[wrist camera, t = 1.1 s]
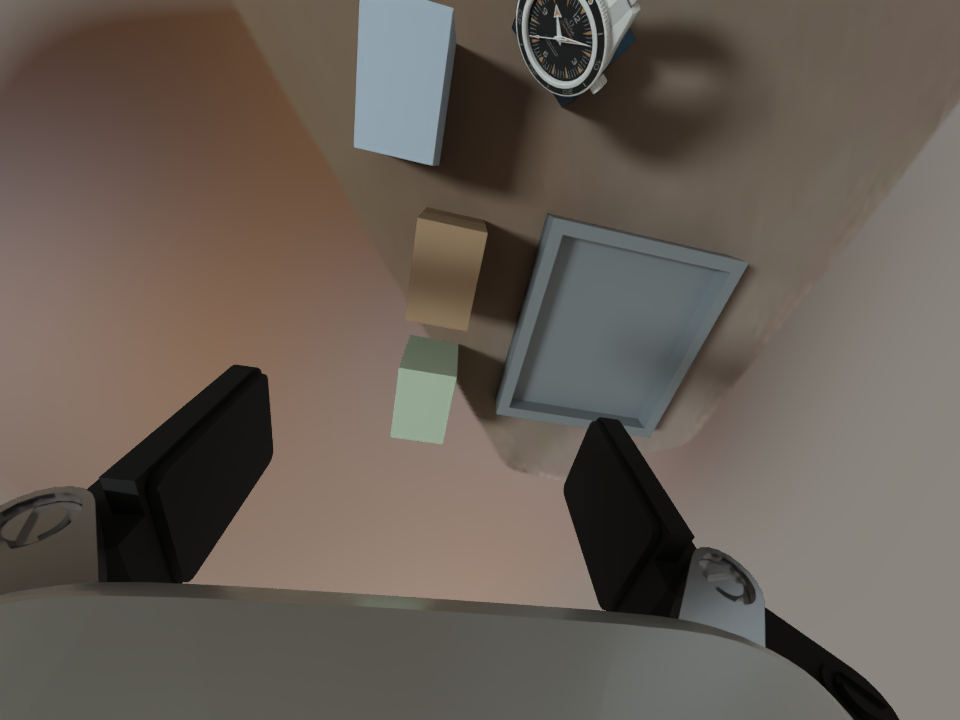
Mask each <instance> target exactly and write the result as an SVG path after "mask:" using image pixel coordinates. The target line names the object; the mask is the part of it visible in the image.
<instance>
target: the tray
mask: <svg viewBox="0 0 960 720" xmlns="http://www.w3.org/2000/svg"><path fill="white" fill-rule="evenodd" d="M748 264H749V263H748V262H746V261H743V260H740V259H737V258H734V257H731V256H728V255H724V254H720V253H715V252H711V251H707V250H702V249H698V248H694V247H689V246H685V245H681V244H677V243H672V242H668V241H664V240H659V239H655V238H651V237H646V236H642V235H638V234H633V233H629V232H625V231H620V230H616V229H612V228H608V227H603V226H599V225H595V224H590V223H586V222H582V221H577V220H573V219H569V218H564V217H560V216H556V215H552V214H547V217H546V220H545V224H544V227H543V231H542V234H541V238H540V242H539V245H538V249H537V252H536V256H535V259H534V263H533V266H532V270H531V273H530V277H529V280H528V284H527V287H526V291H525V295H524V298H523V302H522V305H521V309H520V312H519V316H518V319H517V323H516V326H515V330H514V333H513V337H512V340H511V344H510V348H509V351H508V355H507V358H506V362H505V365H504V369H503V372H502V376H501V379H500V383H499V386H498V390H497V393H496V397H495V406H496V414H498V415H504V416H511V417H517V418H524V419H530V420H537V421H543V422H550V423H556V424H563V425H569V426H576V427H583V428H588V427H589V425H590V423H591V422H592V421H596V420H597V419H598V418H599V417H604V418H611V419H617V420H619V421H620V422H621V423H622V425H623V426H624V428H625V429H626V431H627V433H628V434H629V435H635V436H641V437H648V438H650V436H651V434H652V433H653V431H654V429H655V427H656V426H657V424H658V422H659V420H660V419H661V417H662V415H663V413H664V412H665V410H666V408H667V406H668V405H669V403H670V401H671V399H672V397H673V396H674V394H675V392H676V390H677V389H678V387H679V385H680V383H681V382H682V380H683V378H684V376H685V375H686V373H687V371H688V369H689V368H690V366H691V364H692V362H693V360H694V359H695V357H696V355H697V353H698V352H699V350H700V348H701V346H702V345H703V343H704V341H705V339H706V338H707V336H708V334H709V332H710V331H711V329H712V327H713V325H714V323H715V322H716V320H717V318H718V316H719V315H720V313H721V311H722V309H723V308H724V306H725V304H726V302H727V301H728V299H729V297H730V295H731V294H732V292H733V290H734V288H735V286H736V285H737V283H738V281H739V279H740V278H741V276H742V274H743V272H744V271H745V269H746V267H747V265H748Z"/></svg>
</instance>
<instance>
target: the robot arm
mask: <svg viewBox="0 0 960 720" xmlns="http://www.w3.org/2000/svg"><path fill="white" fill-rule="evenodd" d="M272 455H273V440H272V427H271V415H270V402H269V388H268V378H267V375H265V374H262V373H261V370H260V369H259V368H256V367H248V366H242V365H233V366H231V367H230V368H229V369H228V370H226V371H225V372H224V373H223V374H222V375H221V376H219V377H218V378H217V379H216V380H215V381H213V382H212V383H211V384H210V385H209V386H207V387H206V388H205V389H204V390H203V391H201V392H200V393H199V394H198V395H197V396H195V397H194V398H193V399H192V400H191V401H189V402H188V403H187V404H186V405H185V406H183V407H182V408H181V409H180V410H179V411H178V412H176V413H175V414H174V415H173V416H172V417H171V418H169V419H168V420H167V421H166V422H164V423H163V424H162V425H161V426H160V427H159V428H157V429H156V430H155V431H154V432H152V433H151V434H150V435H149V436H148V437H147V438H145V439H144V440H143V441H142V442H141V443H139V444H138V445H137V446H136V447H135V448H133V449H132V450H131V451H130V452H129V453H128V454H126V455H125V456H124V457H123V458H121V459H120V460H119V461H118V462H117V463H116V464H114V465H113V466H112V467H111V468H110V469H108V470H107V471H106V472H105V473H104V474H102V475H101V476H100V477H99V479H98V480H97V481H96V482H95V483H94V484H93V485H91V486H90V487H89V488H88V489H87V490H86V489H84V488H80V487H74V486H65V487H53V488H48V489H43V490H38V491H35V492H32V493H29V494H26V495H23V496H20V497H17V498H15V499H13V500H11V501H9V502H7V503H4V504H2V505H0V720H899V718H898V717H897V715H896V713H895V712H894V710H893V709H892V707H891V706H890V705H889V704H888V702H887V701H886V700H885V699H884V697H883V696H882V695H881V694H880V693H879V692H878V691H877V690H876V689H875V688H874V687H873V686H872V685H871V684H870V683H869V682H868V681H867V680H866V679H865V678H864V677H862V676H861V675H860V674H859V673H857V672H856V671H855V670H854V669H852V668H851V667H849V666H848V665H847V664H845V663H844V662H842V661H841V660H840V659H838V658H837V657H835V656H834V655H832V654H831V653H830V652H828V651H827V650H825V649H824V648H822V647H821V646H820V645H818V644H817V643H815V642H814V641H812V640H811V639H809V638H808V637H807V636H805V635H804V634H802V633H801V632H800V631H798V630H797V629H795V628H794V627H792V626H791V625H790V624H788V623H786V622H785V621H784V620H782V619H781V618H780V617H778V616H777V615H775V614H774V613H772V612H771V611H769V610H768V609H767V608H765V601H764V597H763V592H762V590H761V588H760V587H759V585H758V583H757V581H756V580H755V579H754V577H752V575H751V574H750V572H748V570H746V569H745V568H744V567H743V566H742V565H741V564H740V563H739V562H737V561H736V560H735V559H733V558H732V557H731V556H729V555H727V554H725V553H723V552H721V551H719V550H717V549H713V548H710V547H700V548H698V549H696V547H695V545H694V544H693V543H692V540H693V538H694V535H693V534H692V532H691V531H690V529H689V528H688V526H687V524H686V523H685V521H684V520H683V518H682V517H681V515H680V514H679V512H678V510H677V509H676V507H675V506H674V504H673V503H672V501H671V499H670V498H669V496H668V495H667V493H666V492H665V490H664V489H663V487H662V486H661V484H660V482H659V481H658V479H657V478H656V476H655V475H654V473H653V472H652V470H651V468H650V467H649V465H648V464H647V462H646V461H645V459H644V457H643V456H642V454H641V453H640V451H639V450H638V448H637V447H636V445H635V443H634V442H633V440H632V439H631V437H630V436H629V434H628V433H627V431H626V429H625V428H624V426H623V425H622V423H621V422H620V421H619V420H617V419H611V418H604V417H599V418H598V419H597V420H596V421H592V422H591V423H590V425H589V427H588V430H587V432H586V434H585V437H584V439H583V442H582V444H581V446H580V449H579V451H578V453H577V456H576V458H575V460H574V463H573V465H572V467H571V470H570V472H569V475H568V477H567V479H566V482H565V484H564V496H565V500H566V503H567V506H568V509H569V512H570V515H571V518H572V521H573V524H574V528H575V531H576V534H577V537H578V540H579V543H580V546H581V550H582V553H583V556H584V559H585V562H586V565H587V568H588V571H589V575H590V578H591V580H592V584H593V587H594V590H595V593H596V596H597V600H598V603H599V605H600V607H601V608H602V609H603V610H606V611H599V610H586V609H585V610H584V609H572V608H558V607H544V606H531V605H517V604H504V603H503V604H502V603H490V602H474V601H460V600H445V599H430V598H416V597H399V596H385V595H370V594H354V593H339V592H338V593H337V592H322V591H306V590H290V589H273V588H256V587H240V586H221V585H197V584H182V583H183V582H189V581H190V580H191V579H193V577H194V576H195V575H196V573H197V572H198V570H199V569H200V567H201V566H202V564H203V563H204V561H205V560H206V558H207V557H208V555H209V554H210V552H211V551H212V549H213V548H214V546H215V545H216V543H217V541H218V540H219V539H220V537H221V536H222V534H223V533H224V531H225V530H226V528H227V526H228V525H229V523H230V522H231V521H232V519H233V517H234V516H235V514H236V513H237V512H238V510H239V508H240V507H241V506H242V504H243V502H244V501H245V499H246V498H247V496H248V495H249V493H250V492H251V490H252V489H253V487H254V486H255V484H256V483H257V481H258V480H259V478H260V477H261V475H262V474H263V472H264V471H265V469H266V468H267V466H268V465H269V463H270V461H271V459H272Z"/></svg>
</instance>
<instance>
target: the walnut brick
mask: <svg viewBox="0 0 960 720" xmlns="http://www.w3.org/2000/svg"><path fill="white" fill-rule="evenodd" d="M487 235H488V232H487V229H486V225H485V222H484V220H481V219H476V218H472V217H468V216H463V215H459V214H454V213H450V212H445V211H441V210H436V209H432V208H426V209H425V210H424V211H423V212H422V213H421V214H420V215H419V216H418V218H417V226H416V234H415V242H414V250H413V258H412V266H411V275H410V283H409V291H408V299H407V307H406V317H405V320H408V321H413V322H418V323H424V324H429V325H435V326H440V327H446V328H451V329H457V330H462V331H467V328H468V323H469V319H470V314H471V309H472V305H473V300H474V295H475V291H476V286H477V281H478V277H479V272H480V267H481V263H482V258H483V253H484V249H485V244H486V239H487Z"/></svg>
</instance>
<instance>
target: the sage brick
mask: <svg viewBox="0 0 960 720" xmlns="http://www.w3.org/2000/svg"><path fill="white" fill-rule="evenodd" d="M457 364H458V344H457V343H452V342H446V341H440V340H435V339H429V338H425V337H420V336H414V335H410V336H409V339H408V343H407V345H406V348H405V351H404V354H403V357H402V360H401V363H400V366H399V372H398V380H397V389H396V397H395V405H394V413H393V421H392V429H391V437H394V438H401V439H408V440H416V441H423V442H430V443H437V444H443V440H444V435H445V430H446V426H447V421H448V416H449V412H450V407H451V402H452V398H453V393H454V388H455V384H456V379H457Z"/></svg>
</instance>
